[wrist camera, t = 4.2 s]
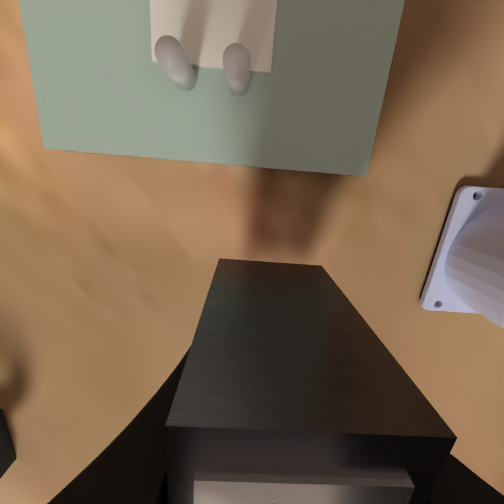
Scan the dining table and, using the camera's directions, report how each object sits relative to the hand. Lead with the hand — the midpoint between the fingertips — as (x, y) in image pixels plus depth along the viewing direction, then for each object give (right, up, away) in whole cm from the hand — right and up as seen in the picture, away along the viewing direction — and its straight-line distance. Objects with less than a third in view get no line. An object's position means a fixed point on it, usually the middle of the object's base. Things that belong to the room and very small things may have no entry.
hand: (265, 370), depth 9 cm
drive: (0, +1, +2) cm, 2 cm away
